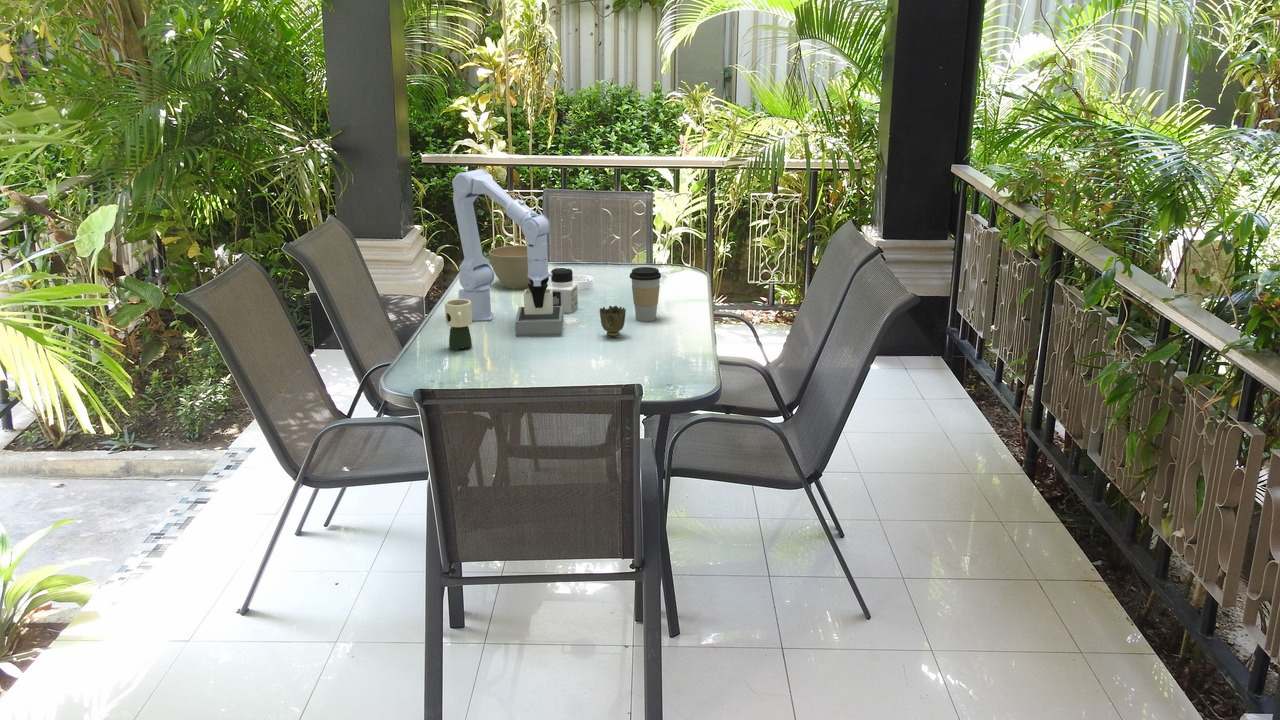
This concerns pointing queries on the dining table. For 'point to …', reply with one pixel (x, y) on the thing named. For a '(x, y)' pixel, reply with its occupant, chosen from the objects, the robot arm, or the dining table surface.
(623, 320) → the cup
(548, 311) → the cream crate
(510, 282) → the flower pot
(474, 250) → the robot arm
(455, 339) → the character mug
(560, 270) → the container
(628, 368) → the dining table surface
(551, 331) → the grey crate
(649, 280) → the coffee cup
